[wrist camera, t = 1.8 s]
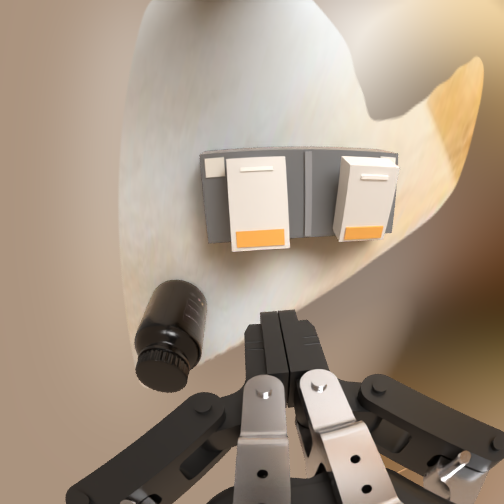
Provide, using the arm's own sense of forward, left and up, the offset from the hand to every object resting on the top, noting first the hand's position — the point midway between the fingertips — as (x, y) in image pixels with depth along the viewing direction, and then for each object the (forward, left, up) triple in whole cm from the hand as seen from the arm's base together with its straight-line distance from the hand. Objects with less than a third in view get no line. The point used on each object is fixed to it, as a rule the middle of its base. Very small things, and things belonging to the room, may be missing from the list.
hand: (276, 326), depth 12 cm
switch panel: (-3, +5, -18) cm, 19 cm away
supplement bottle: (+10, -9, -18) cm, 23 cm away
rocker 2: (-3, +9, -12) cm, 15 cm away
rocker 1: (-3, 0, -12) cm, 12 cm away
